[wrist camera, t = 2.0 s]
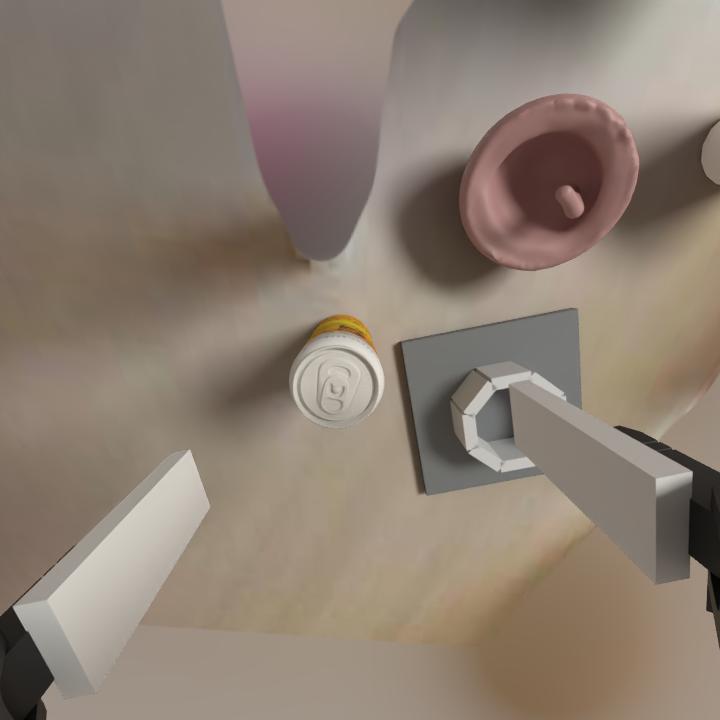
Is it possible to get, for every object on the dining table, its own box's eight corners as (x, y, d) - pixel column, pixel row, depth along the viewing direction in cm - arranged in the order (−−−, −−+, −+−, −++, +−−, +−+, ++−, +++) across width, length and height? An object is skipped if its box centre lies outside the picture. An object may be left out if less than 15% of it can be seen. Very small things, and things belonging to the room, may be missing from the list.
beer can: (376, 320, 35) (396, 351, 20) (364, 376, 36) (373, 443, 21) (318, 308, 34) (295, 329, 19) (307, 364, 35) (278, 424, 21)
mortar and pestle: (417, 223, 32) (452, 194, 21) (496, 107, 30) (581, 7, 19) (511, 295, 34) (588, 302, 23) (592, 190, 32) (719, 143, 21)
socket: (400, 341, 35) (408, 351, 30) (571, 308, 35) (607, 312, 30) (425, 490, 39) (435, 520, 34) (578, 461, 39) (610, 487, 34)
